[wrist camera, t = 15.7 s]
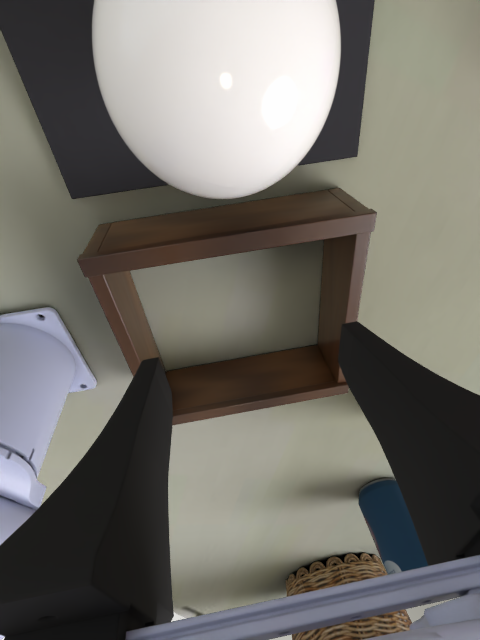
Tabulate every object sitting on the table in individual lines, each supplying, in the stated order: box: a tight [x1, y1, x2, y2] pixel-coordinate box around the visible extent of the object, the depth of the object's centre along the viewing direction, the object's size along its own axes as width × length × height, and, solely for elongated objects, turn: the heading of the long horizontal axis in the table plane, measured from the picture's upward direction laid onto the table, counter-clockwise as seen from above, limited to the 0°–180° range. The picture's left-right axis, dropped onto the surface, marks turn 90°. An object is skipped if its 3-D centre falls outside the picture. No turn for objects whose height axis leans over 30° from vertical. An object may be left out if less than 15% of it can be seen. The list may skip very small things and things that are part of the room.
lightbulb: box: [92, 0, 341, 199], centre depth 11 cm, size 6×6×11 cm
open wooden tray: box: [77, 188, 377, 425], centre depth 21 cm, size 15×14×5 cm
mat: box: [0, 0, 374, 199], centre depth 15 cm, size 16×9×1 cm, turn 96°
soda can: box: [359, 478, 428, 575], centre depth 42 cm, size 7×7×12 cm
